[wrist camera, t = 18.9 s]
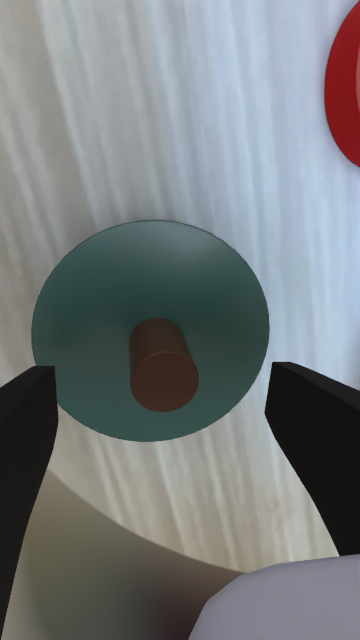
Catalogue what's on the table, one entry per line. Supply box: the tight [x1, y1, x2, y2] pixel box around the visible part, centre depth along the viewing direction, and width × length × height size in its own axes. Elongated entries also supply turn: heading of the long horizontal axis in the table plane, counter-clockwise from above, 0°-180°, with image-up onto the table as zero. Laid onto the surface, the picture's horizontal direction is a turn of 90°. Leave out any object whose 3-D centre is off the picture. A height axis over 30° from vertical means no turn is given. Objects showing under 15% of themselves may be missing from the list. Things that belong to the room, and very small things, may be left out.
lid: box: [31, 220, 269, 442], centre depth 14 cm, size 10×10×4 cm
